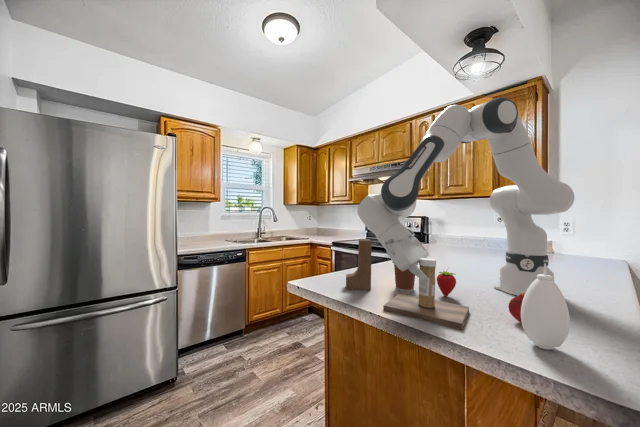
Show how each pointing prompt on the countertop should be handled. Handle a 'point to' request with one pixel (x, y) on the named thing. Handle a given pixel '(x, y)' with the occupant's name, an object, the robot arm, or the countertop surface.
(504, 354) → the countertop surface
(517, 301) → the onion
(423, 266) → the sprinkles bottle
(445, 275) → the strawberry
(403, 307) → the walnut board
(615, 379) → the countertop surface
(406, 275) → the coffee cup
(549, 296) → the sauce bottle
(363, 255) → the wooden block
